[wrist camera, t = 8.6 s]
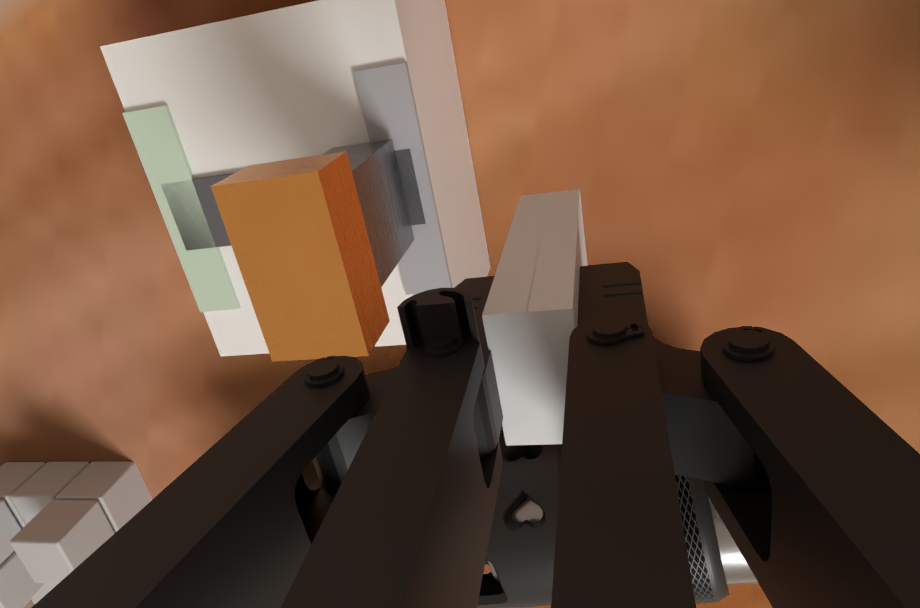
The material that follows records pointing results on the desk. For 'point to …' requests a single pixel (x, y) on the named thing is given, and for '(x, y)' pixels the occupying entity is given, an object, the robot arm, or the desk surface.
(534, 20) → the desk surface
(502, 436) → the muzzle brake
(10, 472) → the puzzle cube
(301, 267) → the breaker toggle
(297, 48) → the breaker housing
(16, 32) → the desk surface
